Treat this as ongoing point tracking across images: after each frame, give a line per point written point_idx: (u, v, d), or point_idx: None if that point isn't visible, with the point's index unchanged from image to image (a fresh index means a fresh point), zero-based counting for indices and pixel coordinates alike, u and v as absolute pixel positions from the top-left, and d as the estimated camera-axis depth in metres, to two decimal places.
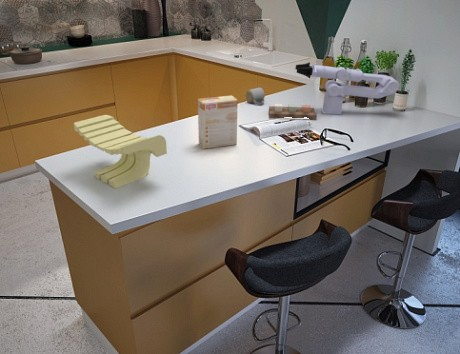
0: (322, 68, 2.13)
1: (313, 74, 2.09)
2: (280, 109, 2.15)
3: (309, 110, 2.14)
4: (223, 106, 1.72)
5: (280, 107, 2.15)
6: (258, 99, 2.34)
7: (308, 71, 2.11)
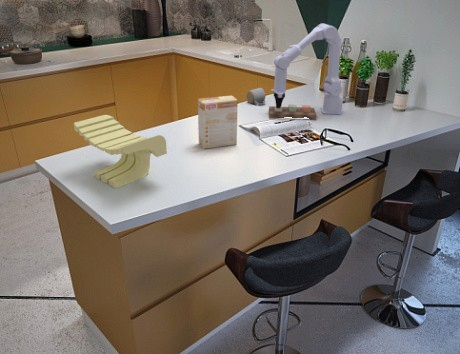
0: (276, 83, 2.10)
1: (280, 96, 2.07)
2: None
3: (309, 110, 2.14)
4: (223, 106, 1.72)
5: (280, 110, 2.15)
6: (259, 99, 2.33)
7: None
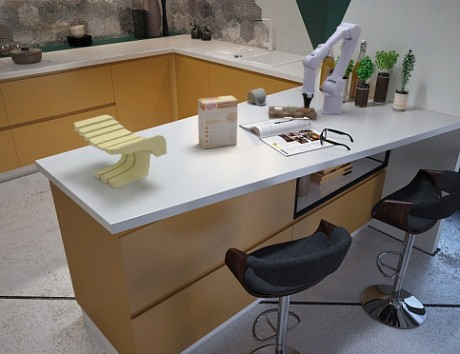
0: (305, 83, 2.09)
1: (310, 96, 2.06)
2: None
3: (309, 111, 2.15)
4: (223, 106, 1.72)
5: (280, 110, 2.15)
6: (260, 100, 2.33)
7: (307, 97, 2.13)
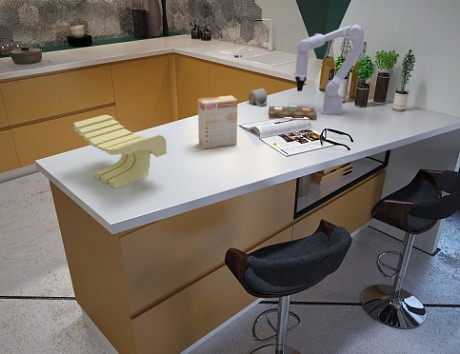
0: (298, 67, 2.17)
1: (302, 79, 2.14)
2: None
3: None
4: (223, 106, 1.72)
5: (280, 110, 2.15)
6: (260, 100, 2.32)
7: (300, 80, 2.21)
